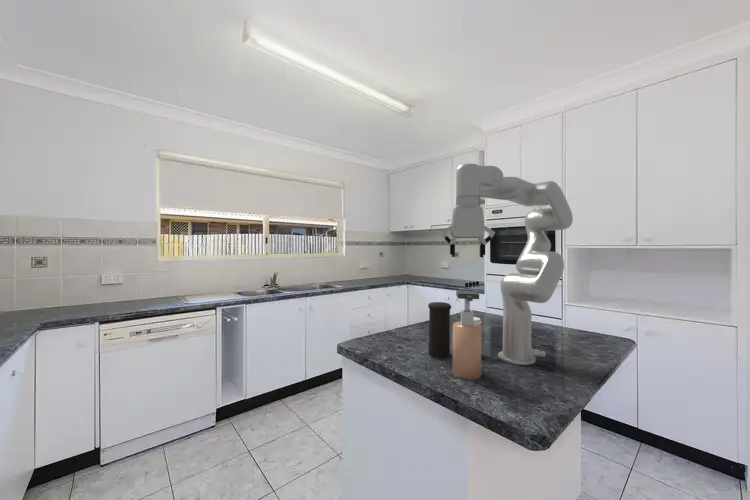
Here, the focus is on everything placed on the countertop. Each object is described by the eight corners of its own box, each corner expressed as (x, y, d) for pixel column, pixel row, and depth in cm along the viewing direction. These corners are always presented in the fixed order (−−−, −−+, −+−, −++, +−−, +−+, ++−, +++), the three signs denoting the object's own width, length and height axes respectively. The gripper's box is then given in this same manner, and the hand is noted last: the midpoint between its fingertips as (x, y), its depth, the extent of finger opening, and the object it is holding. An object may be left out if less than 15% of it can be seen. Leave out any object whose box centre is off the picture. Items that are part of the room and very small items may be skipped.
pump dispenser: (478, 369, 107) (479, 308, 107) (483, 380, 98) (484, 314, 98) (451, 367, 108) (451, 307, 108) (453, 378, 99) (454, 313, 99)
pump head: (475, 310, 106) (475, 291, 105) (481, 316, 95) (481, 296, 95) (456, 309, 107) (456, 290, 106) (459, 316, 96) (459, 295, 96)
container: (449, 351, 125) (449, 300, 125) (452, 359, 116) (452, 305, 116) (426, 350, 126) (427, 300, 126) (428, 358, 117) (429, 304, 117)
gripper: (493, 204, 105) (493, 257, 105) (440, 205, 108) (439, 256, 108) (498, 201, 97) (497, 258, 98) (441, 202, 100) (440, 257, 101)
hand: (467, 256), depth 103 cm, fingers open, 8 cm apart
